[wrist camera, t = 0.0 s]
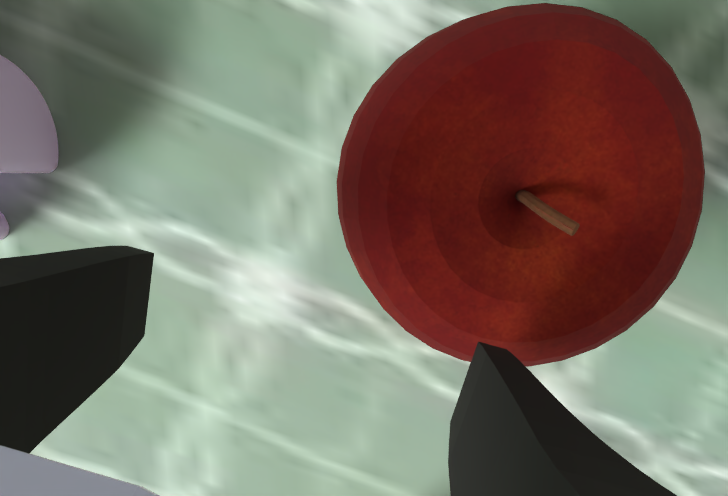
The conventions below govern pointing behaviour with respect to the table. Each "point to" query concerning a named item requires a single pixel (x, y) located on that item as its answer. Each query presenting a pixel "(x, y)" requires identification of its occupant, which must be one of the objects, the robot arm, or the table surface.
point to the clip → (24, 128)
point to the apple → (522, 183)
